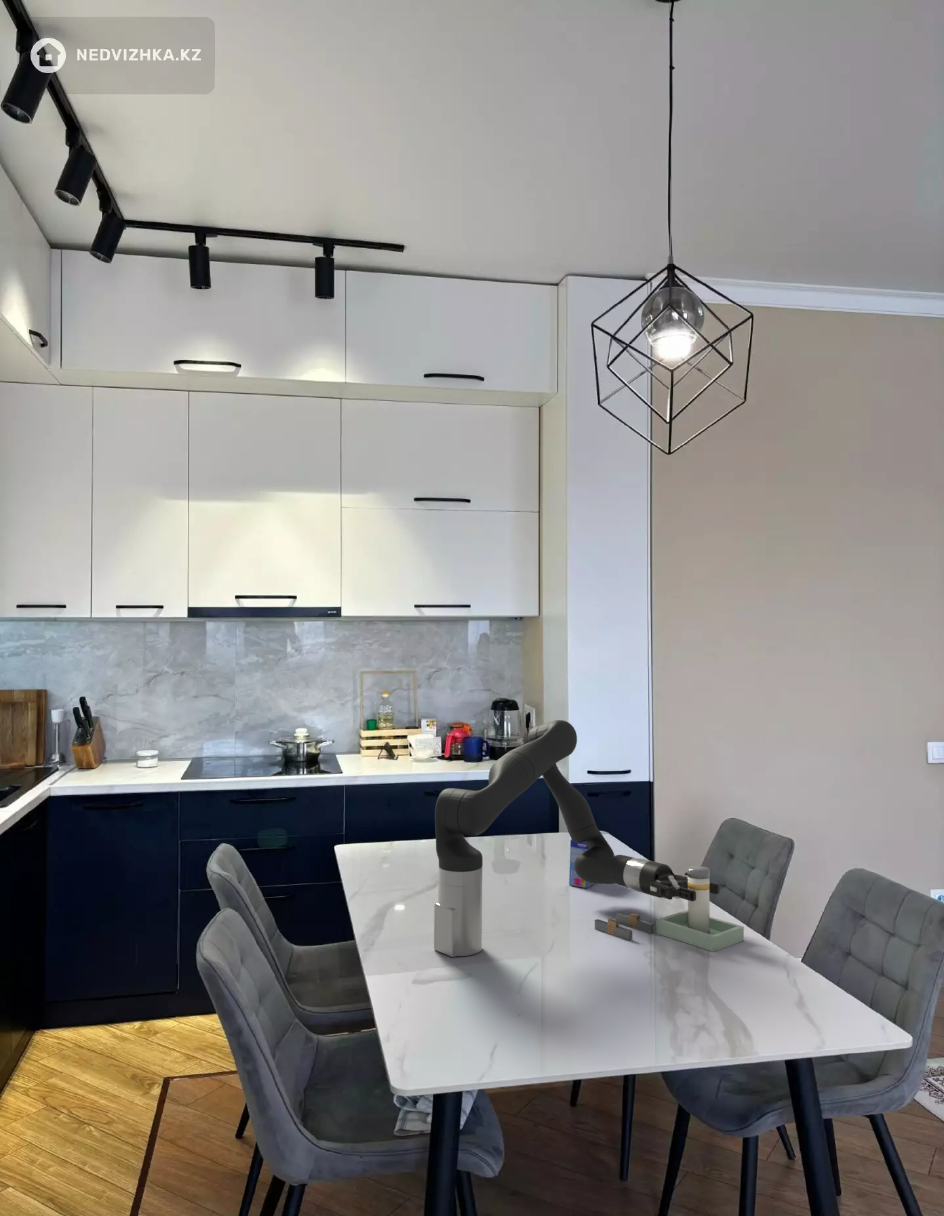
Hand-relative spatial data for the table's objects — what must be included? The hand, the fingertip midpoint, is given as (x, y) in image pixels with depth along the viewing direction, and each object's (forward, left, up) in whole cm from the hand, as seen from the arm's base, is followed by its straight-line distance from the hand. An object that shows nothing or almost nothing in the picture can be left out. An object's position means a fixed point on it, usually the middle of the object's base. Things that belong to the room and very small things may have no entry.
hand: (707, 893), depth 199 cm
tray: (0, +2, -10) cm, 10 cm away
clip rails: (-10, +15, -10) cm, 21 cm away
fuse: (0, +2, -9) cm, 9 cm away
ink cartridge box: (+12, +47, -10) cm, 49 cm away
